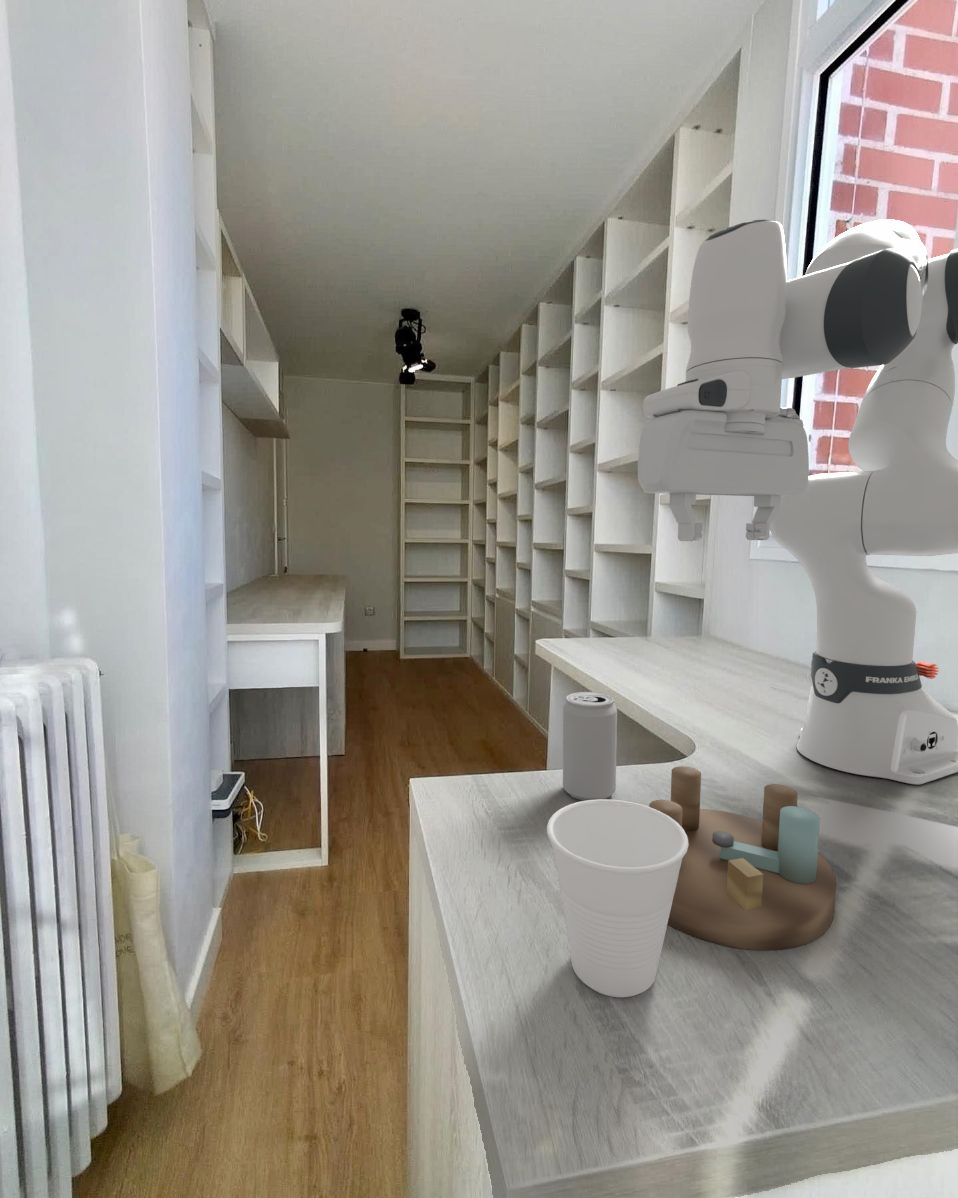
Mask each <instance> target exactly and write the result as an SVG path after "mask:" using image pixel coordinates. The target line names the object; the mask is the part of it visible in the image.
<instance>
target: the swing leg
mask: <svg viewBox="0 0 958 1198" xmlns="http://www.w3.org/2000/svg"><path fill="white" fill-rule="evenodd" d="M820 824H821V817H820V815H819V814H818V813H816V812H815V811H813V810H811V809H808V808H806V807H803V806H797V807H796V806H787V807H783V808H781V810H780V824H779V841H778V852H777V851H773V850H769V849H764V848H760V847H756V846H752V845H748V844H744V843H740V842H736V841H734V837H733V835H731V834H730V833H728V832H724V831H716V832H713V836H712V841H713V843H714V844H715V845H717V846H720V858H722V859H726V860H734V859H740V858H744V859H745V860H746V861H747V862H749V863H750V864H751V865H752V866H754V867H757V868H761V869H765V870H768V871H772V872H776V873H779V874H780V875H781V876H782V877H784V878H785V879H787V880H789V881H792V882H796V883H801V884H809V883H813V882H814V881H815V880H816V871H817V856H818V853H819V840H820V826H821V825H820Z"/></svg>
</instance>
